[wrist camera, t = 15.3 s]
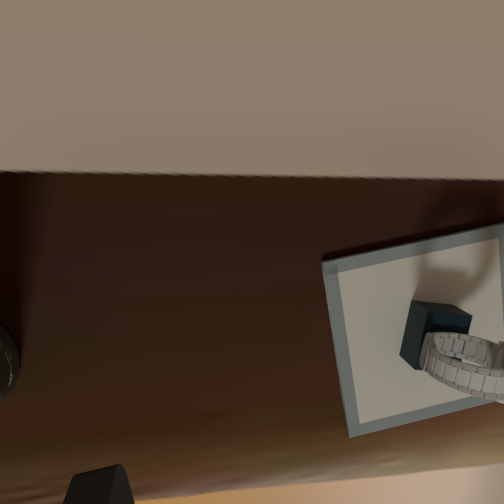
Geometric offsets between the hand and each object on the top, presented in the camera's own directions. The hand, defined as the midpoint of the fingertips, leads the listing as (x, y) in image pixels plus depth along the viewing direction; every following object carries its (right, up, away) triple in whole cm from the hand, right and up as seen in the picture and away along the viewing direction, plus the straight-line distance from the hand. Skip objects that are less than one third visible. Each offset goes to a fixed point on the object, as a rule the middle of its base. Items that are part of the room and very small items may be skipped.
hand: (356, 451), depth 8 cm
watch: (+15, -4, +36) cm, 39 cm away
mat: (+15, -4, +37) cm, 40 cm away
